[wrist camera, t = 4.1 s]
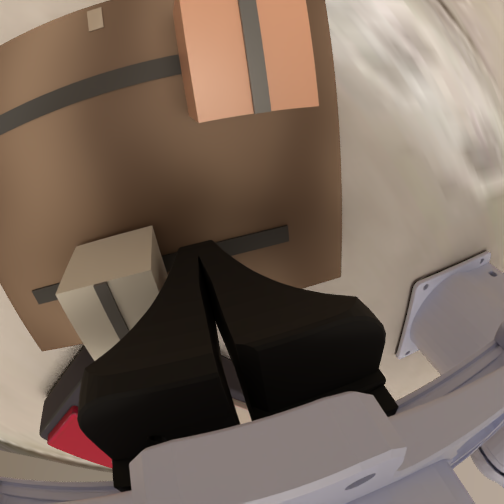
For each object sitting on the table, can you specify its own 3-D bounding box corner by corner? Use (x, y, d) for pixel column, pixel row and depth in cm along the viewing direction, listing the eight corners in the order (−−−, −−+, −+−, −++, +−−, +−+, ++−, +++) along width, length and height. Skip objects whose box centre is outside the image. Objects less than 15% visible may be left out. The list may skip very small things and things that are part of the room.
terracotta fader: (264, 4, 8) (303, -24, 5) (278, 101, 10) (321, 106, 7) (172, 13, 7) (177, -19, 5) (188, 115, 9) (199, 123, 7)
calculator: (118, 345, 11) (320, 429, 19) (122, 289, 15) (296, 386, 22) (35, 446, 12) (216, 495, 20) (43, 395, 16) (204, 455, 24)
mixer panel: (300, -6, 10) (322, -19, 8) (322, 256, 16) (341, 277, 15) (-36, 83, 7) (-62, 85, 5) (50, 325, 14) (41, 352, 12)
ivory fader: (152, 225, 11) (150, 271, 8) (177, 305, 12) (185, 361, 10) (76, 246, 10) (54, 296, 7) (110, 321, 12) (104, 378, 9)
